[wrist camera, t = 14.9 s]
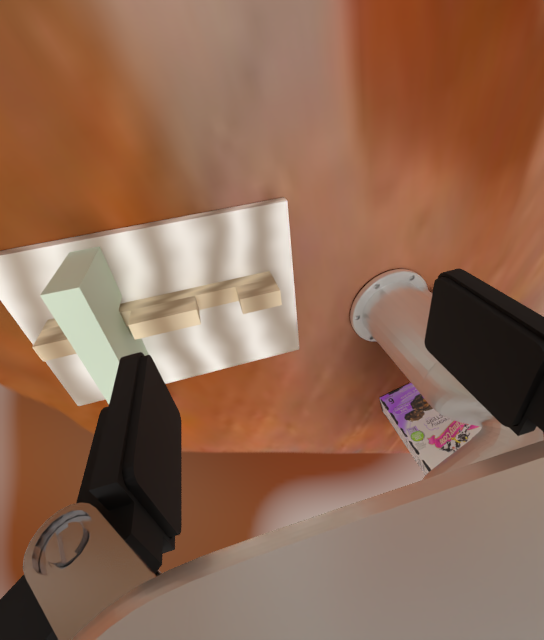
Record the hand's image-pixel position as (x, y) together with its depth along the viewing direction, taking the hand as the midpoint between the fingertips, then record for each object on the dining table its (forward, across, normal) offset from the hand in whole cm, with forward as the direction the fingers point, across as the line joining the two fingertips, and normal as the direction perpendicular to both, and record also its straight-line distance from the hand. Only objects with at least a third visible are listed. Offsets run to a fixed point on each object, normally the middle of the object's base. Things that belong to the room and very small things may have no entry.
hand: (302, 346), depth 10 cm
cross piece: (+27, +16, +12) cm, 34 cm away
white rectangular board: (+29, +10, +14) cm, 34 cm away
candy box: (+30, -28, +46) cm, 62 cm away
